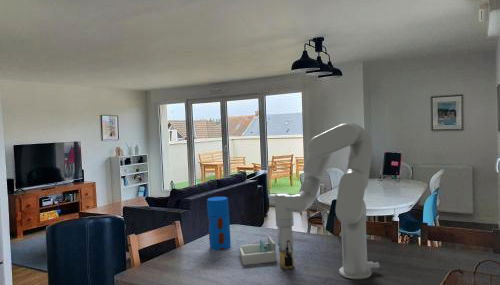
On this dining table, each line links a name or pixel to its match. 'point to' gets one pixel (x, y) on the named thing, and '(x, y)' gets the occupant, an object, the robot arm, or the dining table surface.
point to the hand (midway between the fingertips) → (286, 262)
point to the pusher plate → (263, 246)
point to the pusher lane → (258, 253)
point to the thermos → (218, 223)
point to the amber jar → (282, 259)
